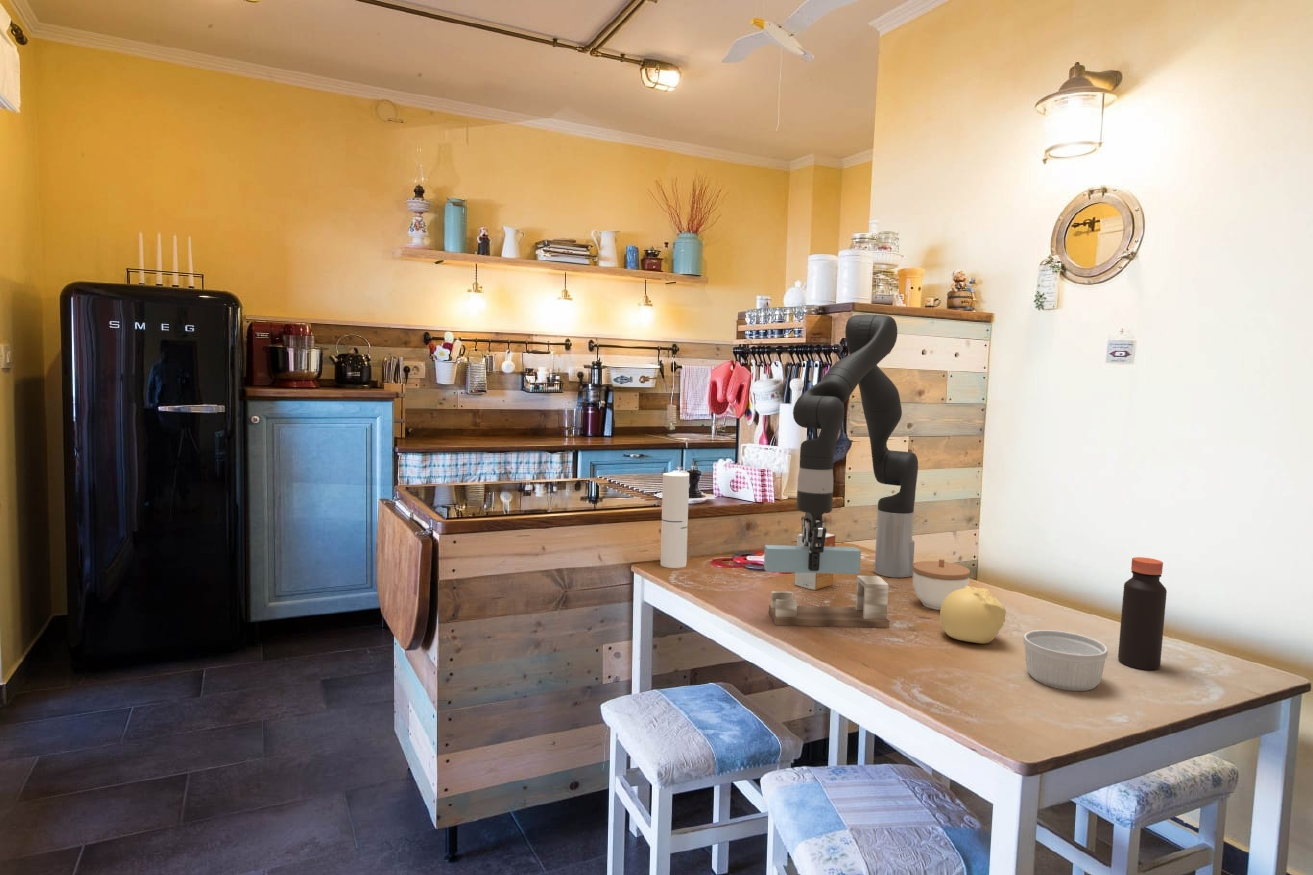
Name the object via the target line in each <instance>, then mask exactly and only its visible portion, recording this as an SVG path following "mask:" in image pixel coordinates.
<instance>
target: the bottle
mask: <svg viewBox="0 0 1313 875" xmlns="http://www.w3.org/2000/svg"><path fill="white" fill-rule="evenodd" d="M1163 566H1164V562H1163V561H1161V560H1159V559H1155V558H1150V557H1144V556H1143V557H1139V556H1138V557H1136V556H1135V557H1132V558H1131V568H1130V570H1131V571H1130V573H1132V577H1131V578H1129V579H1128V580H1127V581H1125V582H1124V584H1123V591H1122V592H1123V593H1122V602H1121V603H1122V605H1121V616H1120V617H1121V618H1120V630H1119V639H1118V640H1119V642H1118V653H1117V658H1118V659H1117V660H1118V661H1119V662H1120V663H1121V664H1123V665H1125V666H1128V667H1130V668H1134V669H1138V670H1145V671H1155V670H1158V669H1159V668H1161V661H1162V650H1163V649H1162V648H1163V639H1164V638H1163V637H1164V627H1165V615H1166V602H1167V593H1168V592H1167V588H1166V586H1164V584H1162V582H1161V581H1160V578H1161V577H1162V575H1163Z"/></svg>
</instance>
